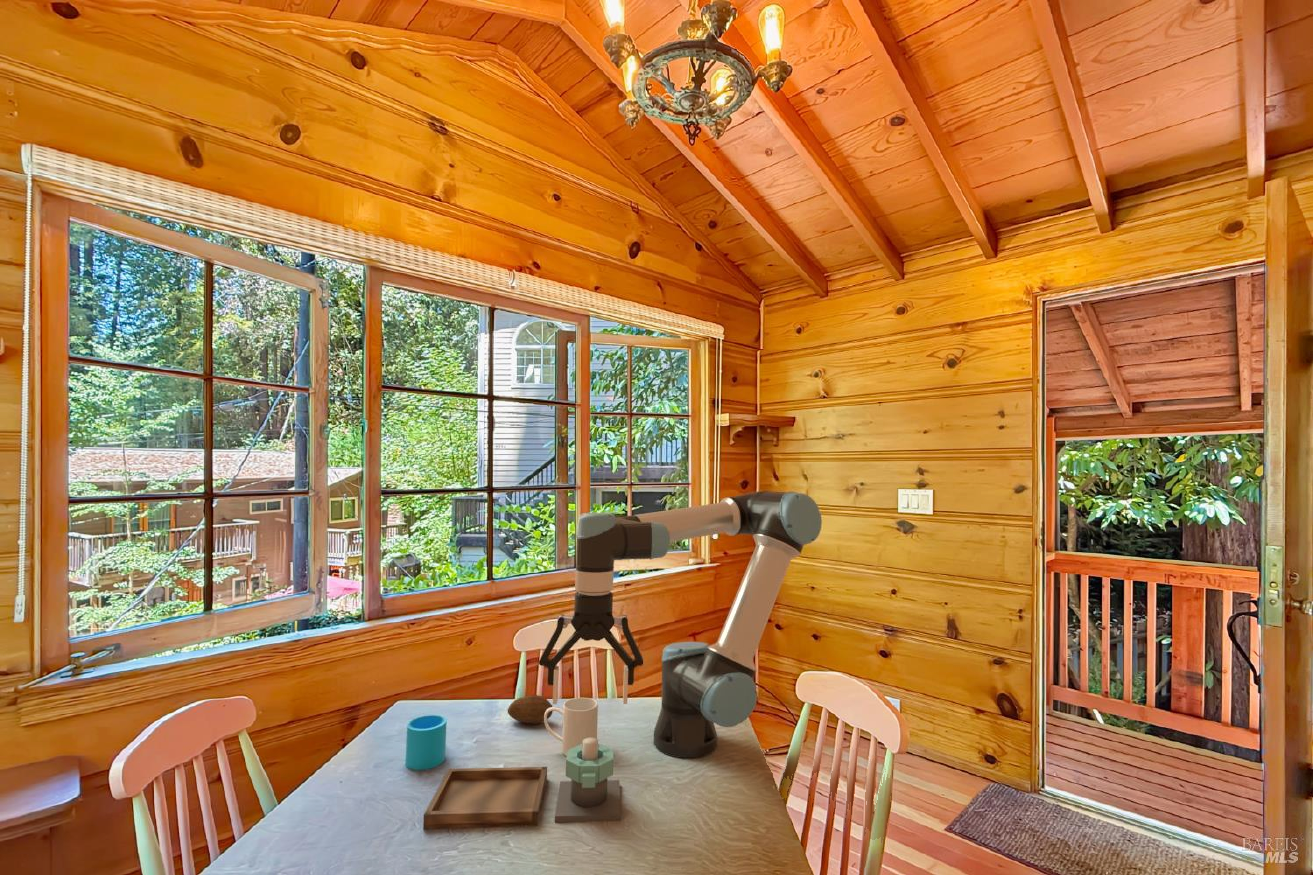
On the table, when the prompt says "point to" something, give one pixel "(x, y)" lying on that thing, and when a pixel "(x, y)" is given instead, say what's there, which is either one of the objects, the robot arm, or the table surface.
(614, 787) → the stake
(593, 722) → the mug
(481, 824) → the tray
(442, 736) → the mug
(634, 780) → the table surface
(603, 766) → the ring
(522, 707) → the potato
